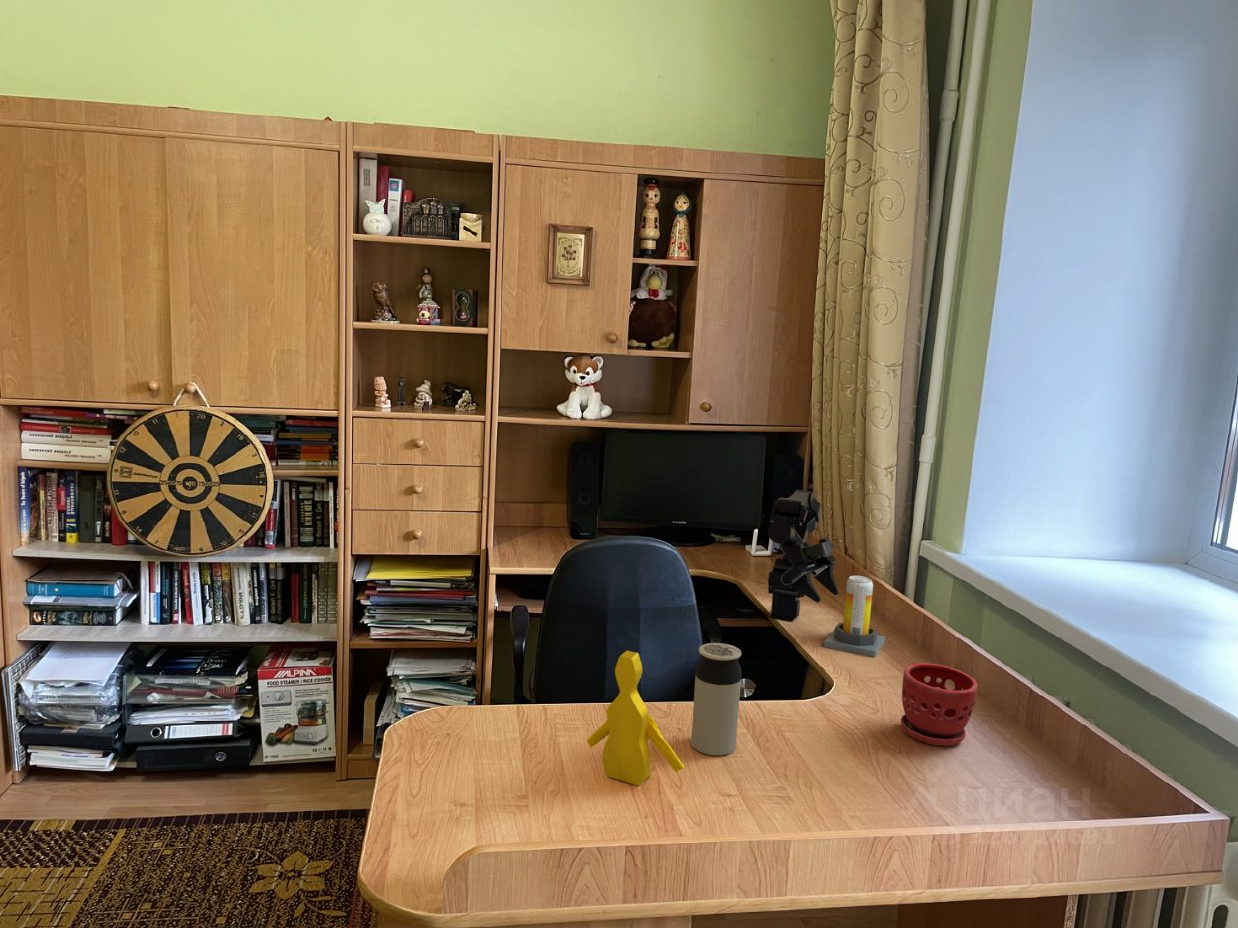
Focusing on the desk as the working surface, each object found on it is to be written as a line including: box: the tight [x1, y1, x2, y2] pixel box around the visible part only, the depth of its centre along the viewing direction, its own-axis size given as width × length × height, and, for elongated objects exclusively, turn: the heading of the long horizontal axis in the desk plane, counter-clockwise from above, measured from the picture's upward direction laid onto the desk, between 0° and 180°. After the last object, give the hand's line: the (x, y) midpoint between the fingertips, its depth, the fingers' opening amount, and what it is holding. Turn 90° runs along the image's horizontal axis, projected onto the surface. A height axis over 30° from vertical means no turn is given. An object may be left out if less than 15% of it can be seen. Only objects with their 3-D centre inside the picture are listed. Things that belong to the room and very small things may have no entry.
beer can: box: [842, 575, 874, 635], centre depth 212 cm, size 6×6×15 cm
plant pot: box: [900, 662, 979, 747], centre depth 165 cm, size 13×13×12 cm
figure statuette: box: [586, 650, 685, 787], centre depth 143 cm, size 18×8×22 cm, turn 63°
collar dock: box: [823, 622, 886, 658], centre depth 213 cm, size 12×12×4 cm
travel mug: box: [690, 642, 742, 757], centre depth 155 cm, size 8×8×18 cm
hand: (828, 597), depth 217 cm, fingers open, 9 cm apart
